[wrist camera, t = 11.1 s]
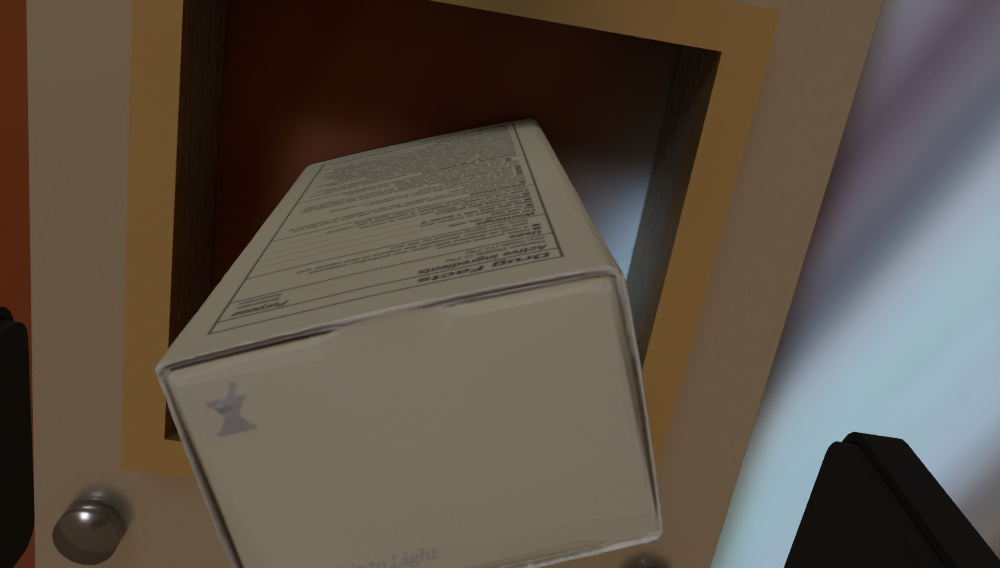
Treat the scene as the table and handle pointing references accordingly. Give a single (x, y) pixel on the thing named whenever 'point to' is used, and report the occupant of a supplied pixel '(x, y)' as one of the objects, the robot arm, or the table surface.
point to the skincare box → (420, 369)
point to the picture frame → (190, 227)
